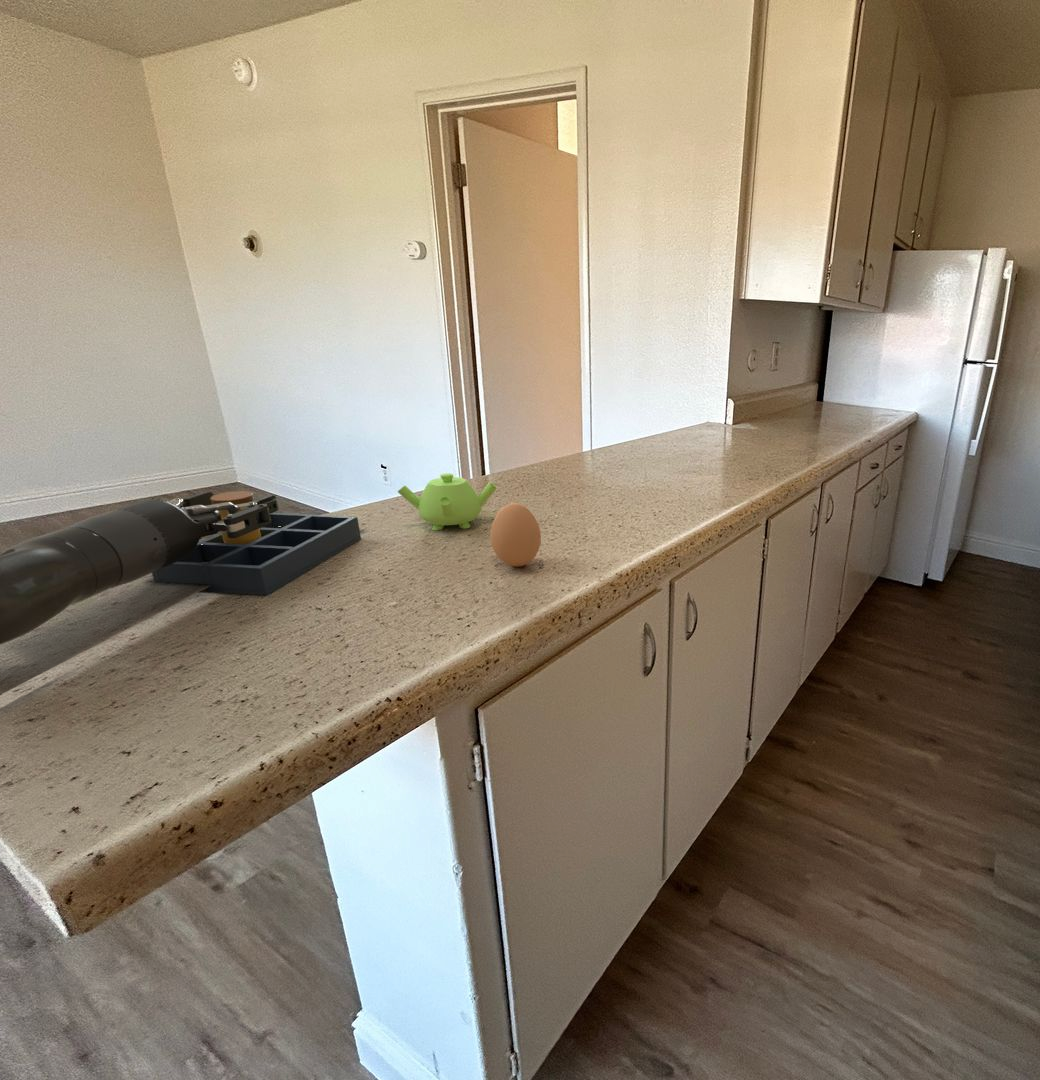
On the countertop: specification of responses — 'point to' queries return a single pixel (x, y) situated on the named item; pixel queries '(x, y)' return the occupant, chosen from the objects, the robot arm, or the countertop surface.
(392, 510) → the countertop surface
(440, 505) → the teapot
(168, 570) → the grid
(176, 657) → the countertop surface
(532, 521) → the egg
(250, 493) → the jar
